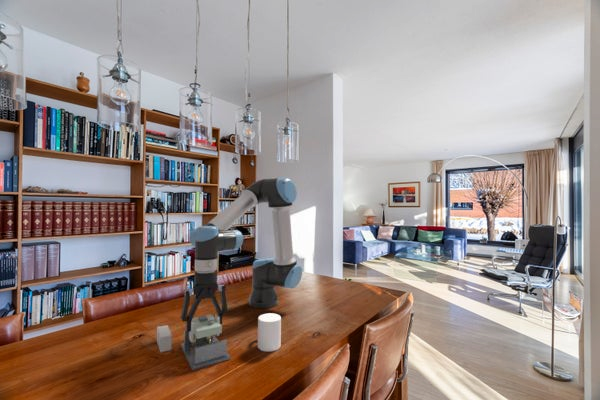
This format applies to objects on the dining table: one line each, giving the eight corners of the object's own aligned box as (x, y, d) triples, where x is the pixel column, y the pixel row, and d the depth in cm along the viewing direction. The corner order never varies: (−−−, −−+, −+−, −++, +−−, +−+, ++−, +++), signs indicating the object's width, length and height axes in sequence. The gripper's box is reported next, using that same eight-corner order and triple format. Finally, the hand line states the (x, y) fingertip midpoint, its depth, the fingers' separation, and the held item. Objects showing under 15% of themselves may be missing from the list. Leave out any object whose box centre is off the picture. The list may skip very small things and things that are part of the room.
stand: (156, 340, 105) (157, 327, 105) (166, 338, 107) (167, 325, 107) (160, 352, 97) (160, 337, 97) (171, 349, 99) (171, 335, 99)
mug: (263, 323, 97) (250, 312, 107) (263, 354, 96) (250, 339, 107) (285, 318, 101) (270, 308, 111) (284, 348, 101) (270, 335, 111)
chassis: (180, 345, 101) (181, 329, 102) (214, 337, 108) (214, 322, 108) (192, 370, 86) (192, 350, 87) (230, 359, 93) (230, 340, 93)
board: (188, 325, 100) (188, 315, 100) (211, 320, 105) (211, 311, 105) (196, 338, 90) (197, 328, 90) (221, 333, 95) (221, 322, 95)
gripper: (175, 276, 89) (173, 349, 88) (238, 269, 101) (237, 334, 100) (171, 272, 95) (169, 340, 95) (231, 266, 107) (230, 326, 106)
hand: (204, 337), depth 97 cm, fingers closed on board, 8 cm apart
